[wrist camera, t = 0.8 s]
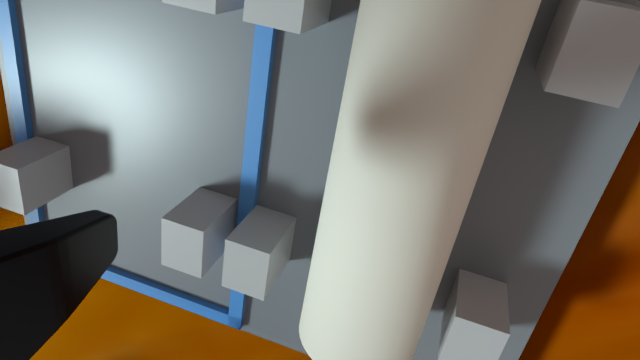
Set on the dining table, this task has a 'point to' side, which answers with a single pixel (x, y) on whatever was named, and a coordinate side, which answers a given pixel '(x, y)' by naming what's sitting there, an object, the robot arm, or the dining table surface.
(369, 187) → the white cylinder
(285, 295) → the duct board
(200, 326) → the dining table surface
